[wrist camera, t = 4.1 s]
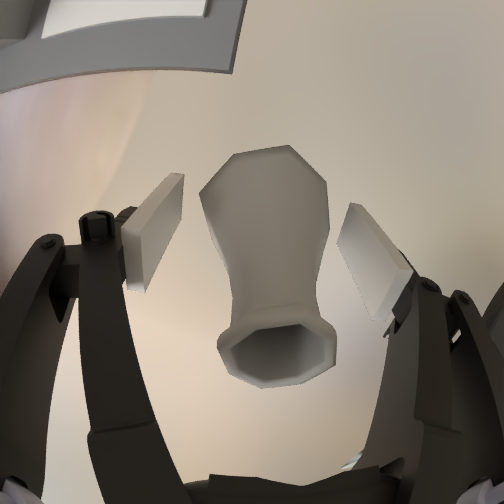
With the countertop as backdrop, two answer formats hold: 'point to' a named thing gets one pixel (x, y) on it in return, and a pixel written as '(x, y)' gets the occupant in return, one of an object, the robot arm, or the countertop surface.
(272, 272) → the flask
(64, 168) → the countertop surface
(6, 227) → the countertop surface
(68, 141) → the countertop surface
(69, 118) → the countertop surface
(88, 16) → the press
